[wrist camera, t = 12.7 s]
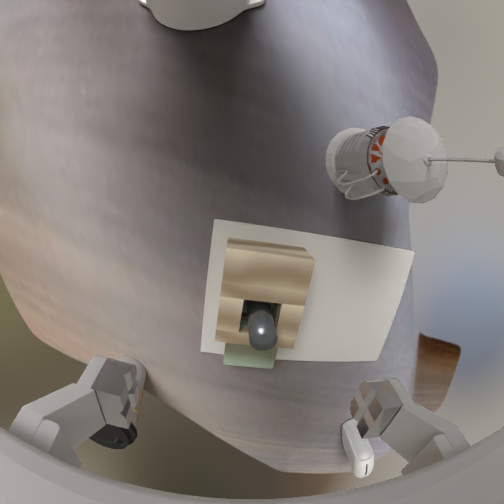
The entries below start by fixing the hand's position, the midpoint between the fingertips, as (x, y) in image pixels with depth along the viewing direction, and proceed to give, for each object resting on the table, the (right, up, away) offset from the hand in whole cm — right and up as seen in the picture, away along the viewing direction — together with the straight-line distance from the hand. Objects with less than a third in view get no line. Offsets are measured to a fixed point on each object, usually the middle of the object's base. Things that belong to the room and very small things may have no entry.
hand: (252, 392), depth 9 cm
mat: (+9, -2, +30) cm, 32 cm away
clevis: (+1, -2, +29) cm, 29 cm away
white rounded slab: (+21, -34, +40) cm, 57 cm away
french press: (+14, +16, +26) cm, 33 cm away
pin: (+1, -2, +29) cm, 29 cm away
